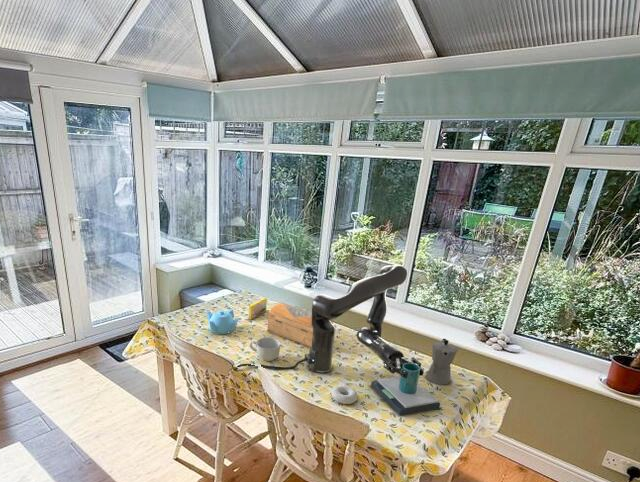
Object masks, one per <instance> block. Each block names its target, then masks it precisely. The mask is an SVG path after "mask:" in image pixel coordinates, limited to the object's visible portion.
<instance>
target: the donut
mask: <svg viewBox="0 0 640 482" xmlns="http://www.w3.org/2000/svg"><path fill="white" fill-rule="evenodd" d="M330 395H331V398H332V399H333V400H334V401H335V402H337V403H339V404H342V405H351V404H353V403H355V402H356V401H357V400H358V397H359V395H358V392H357V390H356V389H354V388H353V387H351V386H348V385H337V386H335V387H334V388H332V390H331V392H330Z"/></svg>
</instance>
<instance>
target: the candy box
mask: <svg viewBox="0 0 640 482" xmlns="http://www.w3.org/2000/svg"><path fill="white" fill-rule="evenodd" d="M267 300H268V298H267V297H263V298H261V299H259V300H257V301H256V302H253V303H251V304H249V305H248V320H250V321H252V320H253V319H255V318H256V317H259V316H261V315H262V314H263V313H265V312H266V311H267V302H268V301H267Z"/></svg>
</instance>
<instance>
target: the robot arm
mask: <svg viewBox="0 0 640 482" xmlns="http://www.w3.org/2000/svg"><path fill="white" fill-rule="evenodd" d="M408 273H409V272H408V269H406V267H404V266H403V265H399V264H393V265H385V266H383V267H381V268H380V271H379V274H378V275H373V276H369V277H364V278H362V279H360V280H358V281H356V282H354V283H352V284H351V285H350V286H349V288H348V290H347V292H346V294H345V295H343V296H341V297H337V298H335V297H333V296H330V295H327V294H325V293H319V294H317V295H316V297H314V299H313V301H312V305H311V311H312V327H313V335H312V346H310V347H309V351H308V353H305V354H304V356H303V357H304V358H302V359H300V360H298V361H297V362H296V363H295V364H294V365H292V366H284V367H283V366H278V365H277V366H276V365H267V364H261V363H260V364H261V366H263V367H262V368H265V369H266V368H267V369H274V370H275V369H277V370H278V369H279V370H292V369H296V368H297V367H298V365H299V364H301V363H304V362H306V363H307V366H308V367H309V369H310V370H311V371H312V372H313V373H321V374H324V373H329V372H330V371H332V365H333V354H334V344H335V335H336V334H335V333H336V327H335V325H334V323H333V324H332V323H331V321H330V320H333V321H334V320H336V319H338V318H339V317H341V316H342V315H344V314H345V313H347V312H349V311H350V310H352V309H354V308H355V307H357V306H359V305H361V304H362V303H365V302H367V301H369V300H372V299H373V300H372V303H371V307H370V309H369V312H368V315H367V317H366V324H367V325H368V326H369V327H361V328H359V329H358V330H357V333H356V339H357V341H358V342H359V343H361V344H362V345H363V346H365V347H367V348H368V349H369V350H370V351H372V353H374V354H375V355H376V356H377V357H378V358H379V359H380V360H381V361H382V362H383V365H382V367H383V368H384V369H385V370H387V371H388V372H389V373H391V374H397V375H399V376H402V377H404V378H407V372H405V371H404V370H403V369H402V366H403V364H405V363H413V364H416V365H418V366H419V367H420V368H421V370H420V375H419V377H420V376H421V377H422V376H424V371H425V370H424V369H423V368H422V363H421V362H420V361H419V359H417V358H416V357H414V356H412V357H411V358H408V357H406V356H405V355H404V353H403V352H402V351H401V350H399V349H398V348H397V347H396V346H394V345H393V344H392V343H389V342H388V341H387V340H385V339H384V338H382V330H383V323H384V321H385V318H386V315H387V312H388V303H387V298H386V297H387V296H386V295H387V291H388V290H390V289H393V288H396V287H399V286H402V285H403V284H404V283H405V282H406V281H407V279H408V275H409V274H408ZM251 364H252V363H240V364H237V367H239V368H241V367H256V366H255V365H251ZM247 365H248V366H247ZM237 369H238V368H236V369H235V370H234V371H236V370H237Z"/></svg>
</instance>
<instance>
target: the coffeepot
mask: <svg viewBox="0 0 640 482" xmlns="http://www.w3.org/2000/svg"><path fill="white" fill-rule="evenodd" d="M449 342H450V341H449V340H448V339H446V338H442V340H441V341H435V343H433V344H432V356H431V359H432V363H431V364H430V367H429V369H428V371H427V373H426V378H427V380H429V381H430V382H431V383H434V384H438V385H448V384H449V383H450V382H451V376H452V375H451V374H452V373H451V370H452V369H451V365H452V363H453V362H454V360H455V357H456V354H457V352H458V350H459V349H458V348H457V347H456V346H455V345H454V344H452V343H449Z"/></svg>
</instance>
